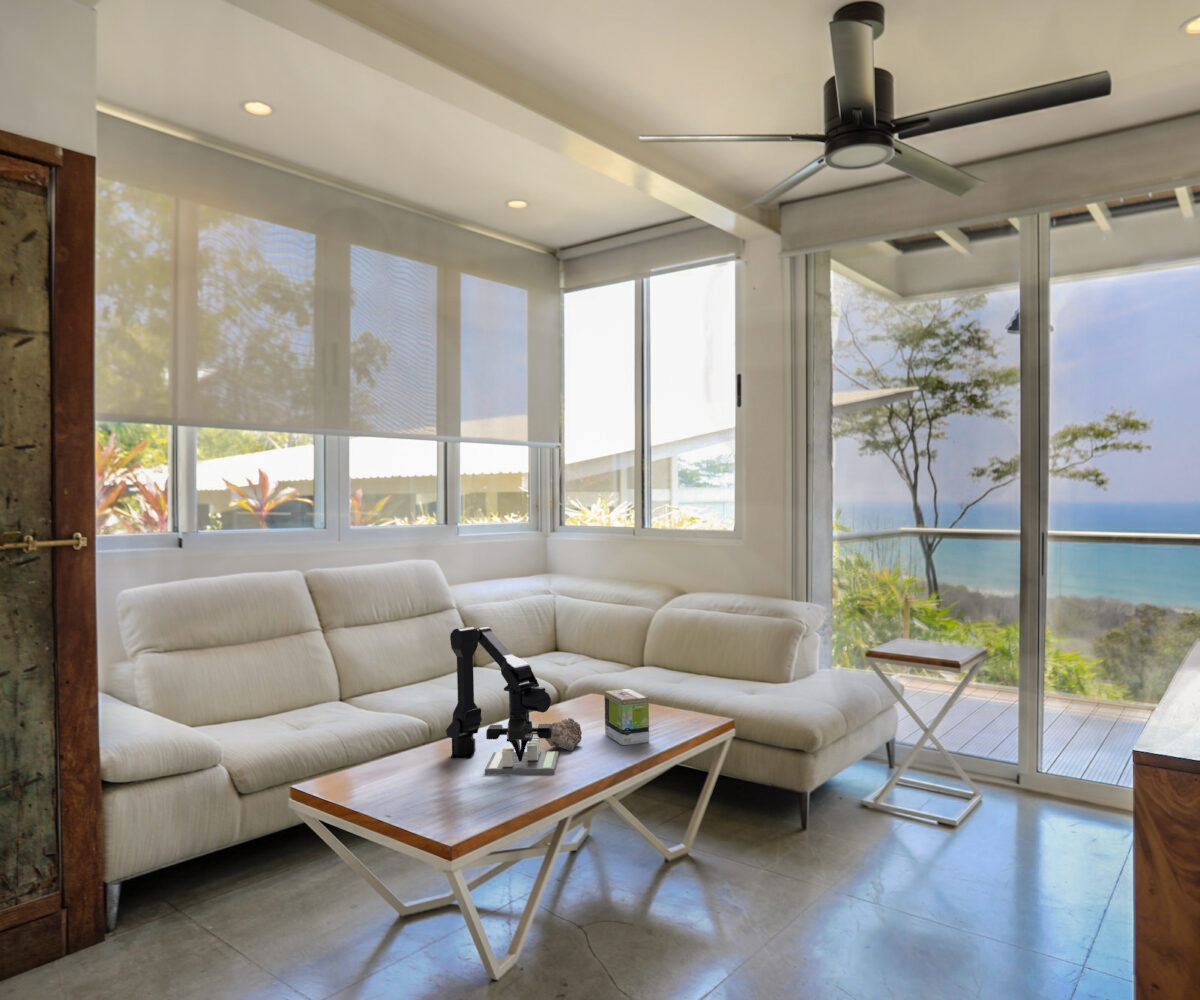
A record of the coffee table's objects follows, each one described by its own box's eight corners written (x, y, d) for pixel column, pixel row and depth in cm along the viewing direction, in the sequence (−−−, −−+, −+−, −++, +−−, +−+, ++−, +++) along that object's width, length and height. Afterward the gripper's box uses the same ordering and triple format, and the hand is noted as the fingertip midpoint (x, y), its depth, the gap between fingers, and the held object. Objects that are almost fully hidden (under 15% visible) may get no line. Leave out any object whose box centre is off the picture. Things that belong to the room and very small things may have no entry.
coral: (565, 756, 253) (552, 725, 254) (546, 761, 258) (534, 731, 259) (593, 738, 263) (581, 709, 264) (574, 743, 269) (562, 714, 270)
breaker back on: (529, 754, 248) (529, 739, 248) (530, 751, 251) (530, 736, 251) (539, 754, 248) (538, 739, 248) (540, 751, 251) (540, 736, 251)
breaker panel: (484, 774, 236) (484, 768, 236) (493, 757, 252) (493, 751, 252) (554, 773, 236) (554, 768, 236) (558, 756, 252) (558, 751, 252)
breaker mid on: (527, 760, 242) (526, 744, 242) (528, 757, 245) (528, 741, 245) (537, 760, 242) (537, 744, 242) (538, 757, 245) (538, 741, 245)
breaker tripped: (502, 766, 237) (502, 750, 237) (503, 763, 240) (503, 747, 240) (512, 766, 237) (512, 750, 237) (514, 763, 240) (513, 747, 240)
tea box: (650, 742, 264) (649, 696, 264) (621, 746, 261) (620, 699, 261) (631, 730, 278) (630, 687, 278) (604, 734, 275) (603, 690, 275)
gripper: (482, 715, 231) (483, 770, 231) (548, 714, 230) (550, 769, 230) (488, 705, 242) (490, 758, 242) (552, 704, 241) (553, 757, 241)
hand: (520, 761), depth 238 cm, fingers closed
